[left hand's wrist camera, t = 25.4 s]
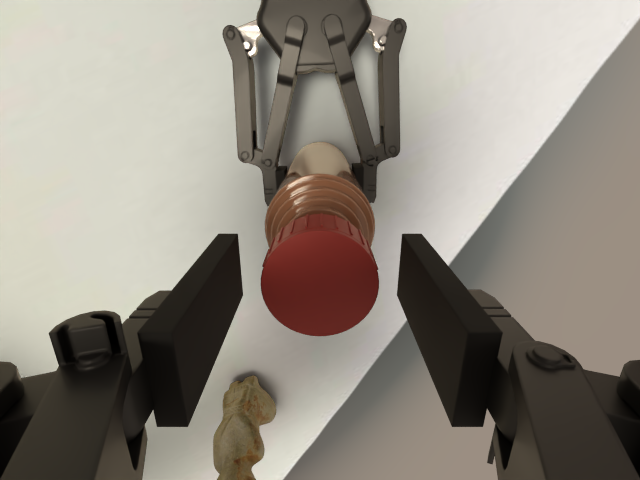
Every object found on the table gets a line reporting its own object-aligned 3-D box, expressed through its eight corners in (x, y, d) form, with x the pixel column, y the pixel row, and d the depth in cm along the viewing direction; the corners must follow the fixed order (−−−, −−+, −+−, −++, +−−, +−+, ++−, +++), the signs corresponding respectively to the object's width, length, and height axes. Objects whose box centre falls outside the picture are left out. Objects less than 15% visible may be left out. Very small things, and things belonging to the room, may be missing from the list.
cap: (259, 217, 14) (249, 235, 12) (369, 207, 14) (377, 223, 12) (275, 312, 15) (269, 342, 13) (374, 303, 15) (382, 332, 13)
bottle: (281, 161, 36) (210, 252, 13) (329, 130, 35) (348, 169, 12) (310, 208, 38) (296, 363, 15) (358, 180, 37) (423, 299, 14)
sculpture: (244, 417, 48) (213, 546, 34) (221, 377, 45) (176, 497, 31) (284, 406, 47) (268, 532, 33) (262, 364, 45) (236, 481, 31)
